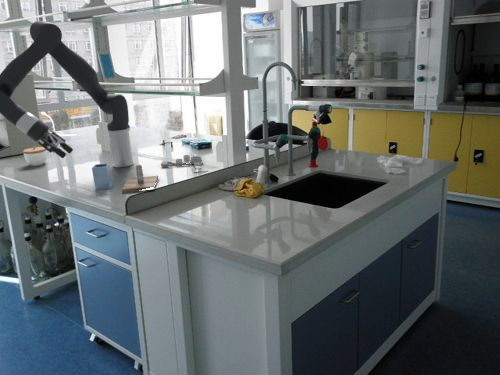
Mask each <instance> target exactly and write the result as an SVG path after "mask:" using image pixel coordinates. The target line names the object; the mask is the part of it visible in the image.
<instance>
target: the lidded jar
mask: <svg viewBox="0 0 500 375" xmlns="http://www.w3.org/2000/svg"><path fill="white" fill-rule="evenodd" d="M22 153H23V157H24V159H25V161H26V163H27V164H29V165H30V166H31V167H37V166H42V165H44V164H45V163H46V160H47V157H48V150H46V149H45V148H44V147H42V146H36V145H33V146H32V147H29V148H25V149H23V150H22Z"/></svg>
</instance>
